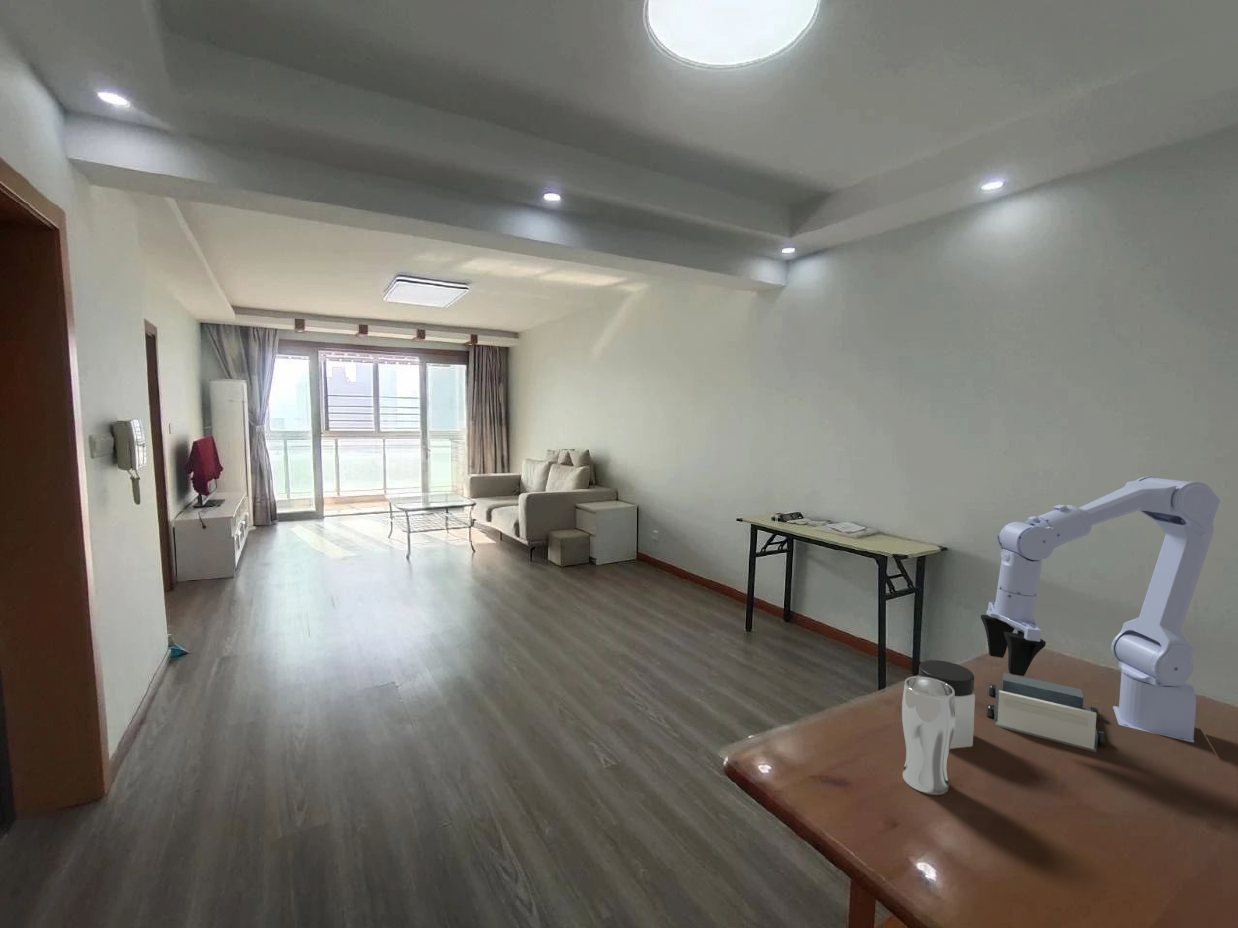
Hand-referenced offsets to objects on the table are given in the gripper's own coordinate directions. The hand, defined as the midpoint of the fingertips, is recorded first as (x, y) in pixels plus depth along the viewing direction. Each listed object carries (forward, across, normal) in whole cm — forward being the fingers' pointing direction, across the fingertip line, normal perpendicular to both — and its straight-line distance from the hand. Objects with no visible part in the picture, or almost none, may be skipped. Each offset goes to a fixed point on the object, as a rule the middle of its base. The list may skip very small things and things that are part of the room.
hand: (1005, 665), depth 99 cm
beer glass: (+13, +20, -18) cm, 30 cm away
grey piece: (+10, -3, +9) cm, 13 cm away
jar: (+12, +7, -11) cm, 18 cm away
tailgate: (+10, +5, +5) cm, 12 cm away
